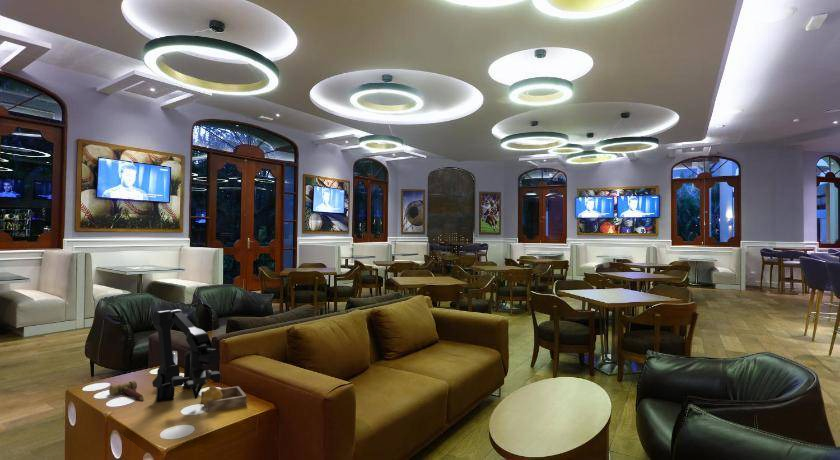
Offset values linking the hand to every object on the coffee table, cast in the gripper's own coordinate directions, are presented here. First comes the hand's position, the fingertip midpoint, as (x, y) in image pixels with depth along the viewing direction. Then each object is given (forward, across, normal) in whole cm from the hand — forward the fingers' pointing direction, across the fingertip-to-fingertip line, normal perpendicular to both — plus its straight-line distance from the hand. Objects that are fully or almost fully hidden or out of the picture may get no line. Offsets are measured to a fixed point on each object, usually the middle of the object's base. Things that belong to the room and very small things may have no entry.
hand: (195, 398), depth 193 cm
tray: (+4, +11, 0) cm, 12 cm away
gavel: (+5, -22, +30) cm, 37 cm away
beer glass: (+4, -5, +42) cm, 42 cm away
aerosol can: (+4, +4, +30) cm, 30 cm away
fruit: (+4, +7, 0) cm, 8 cm away
